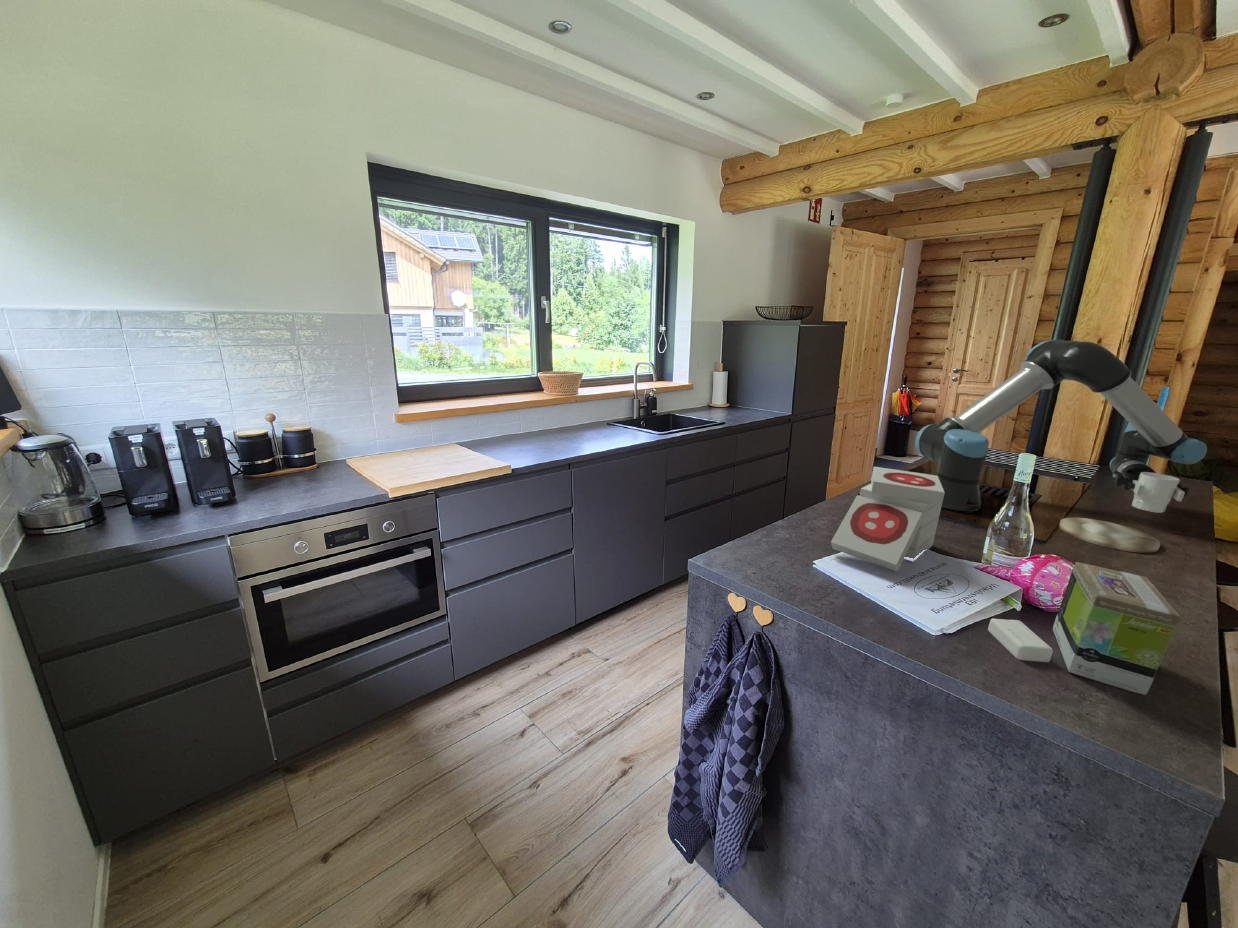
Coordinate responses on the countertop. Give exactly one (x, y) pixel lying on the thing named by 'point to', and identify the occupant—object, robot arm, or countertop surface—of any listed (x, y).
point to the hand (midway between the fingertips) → (1160, 493)
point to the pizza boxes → (891, 518)
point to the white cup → (1155, 492)
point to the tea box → (1114, 627)
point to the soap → (1020, 640)
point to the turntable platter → (1109, 535)
